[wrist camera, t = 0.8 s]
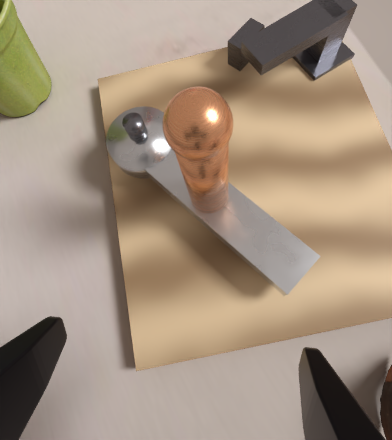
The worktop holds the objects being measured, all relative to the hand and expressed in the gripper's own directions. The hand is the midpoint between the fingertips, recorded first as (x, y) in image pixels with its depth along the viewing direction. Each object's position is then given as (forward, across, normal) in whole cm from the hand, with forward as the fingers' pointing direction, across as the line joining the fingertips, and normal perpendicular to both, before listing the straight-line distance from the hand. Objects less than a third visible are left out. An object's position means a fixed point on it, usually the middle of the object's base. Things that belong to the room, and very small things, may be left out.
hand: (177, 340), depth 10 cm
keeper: (+24, -5, -8) cm, 26 cm away
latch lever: (+14, +1, +1) cm, 14 cm away
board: (+18, -2, +1) cm, 18 cm away
